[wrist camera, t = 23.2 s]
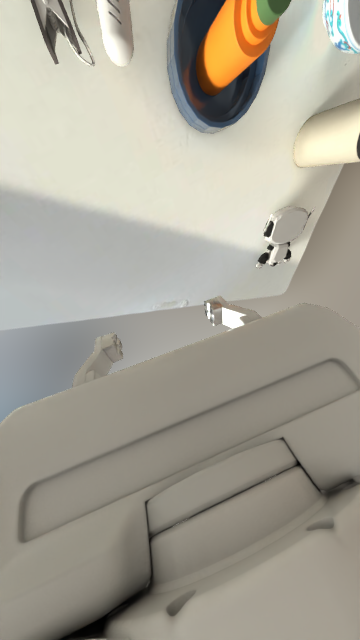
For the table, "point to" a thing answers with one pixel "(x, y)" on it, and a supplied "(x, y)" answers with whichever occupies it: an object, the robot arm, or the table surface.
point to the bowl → (193, 103)
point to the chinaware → (343, 24)
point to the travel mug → (330, 137)
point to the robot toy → (282, 234)
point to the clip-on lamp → (55, 19)
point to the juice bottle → (236, 40)
